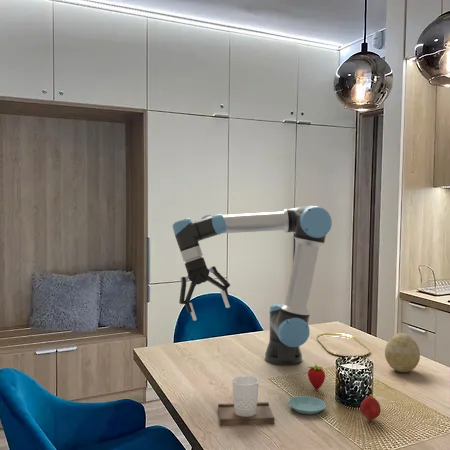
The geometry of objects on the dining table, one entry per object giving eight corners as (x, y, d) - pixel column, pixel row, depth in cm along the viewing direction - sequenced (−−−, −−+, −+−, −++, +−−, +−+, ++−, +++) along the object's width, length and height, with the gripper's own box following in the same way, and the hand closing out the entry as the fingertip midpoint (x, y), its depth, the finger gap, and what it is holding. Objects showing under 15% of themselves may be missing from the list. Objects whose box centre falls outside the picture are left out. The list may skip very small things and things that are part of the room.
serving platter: (332, 359, 201) (332, 356, 201) (312, 336, 236) (312, 333, 236) (376, 358, 202) (376, 355, 202) (349, 335, 237) (349, 332, 237)
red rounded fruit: (357, 416, 147) (357, 390, 147) (375, 415, 147) (376, 390, 147) (364, 425, 141) (364, 398, 141) (383, 424, 142) (383, 398, 141)
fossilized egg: (382, 374, 183) (383, 335, 182) (386, 363, 195) (387, 327, 194) (418, 379, 178) (419, 339, 177) (420, 368, 189) (421, 331, 188)
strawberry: (310, 394, 163) (310, 365, 163) (305, 386, 171) (305, 358, 170) (327, 394, 164) (328, 365, 163) (321, 385, 171) (322, 358, 171)
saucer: (298, 399, 160) (298, 392, 160) (331, 408, 154) (331, 401, 153) (281, 412, 150) (281, 405, 150) (316, 421, 144) (316, 414, 144)
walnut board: (268, 407, 153) (268, 402, 153) (274, 423, 142) (274, 417, 142) (218, 409, 152) (218, 403, 152) (220, 425, 141) (220, 419, 141)
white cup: (256, 419, 142) (256, 386, 142) (230, 416, 144) (230, 384, 143) (259, 408, 150) (260, 376, 149) (235, 405, 152) (235, 374, 151)
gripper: (220, 250, 188) (237, 302, 187) (160, 270, 179) (178, 325, 178) (226, 248, 181) (244, 302, 180) (164, 269, 172) (183, 326, 171)
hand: (211, 313), depth 179 cm, fingers open, 13 cm apart
